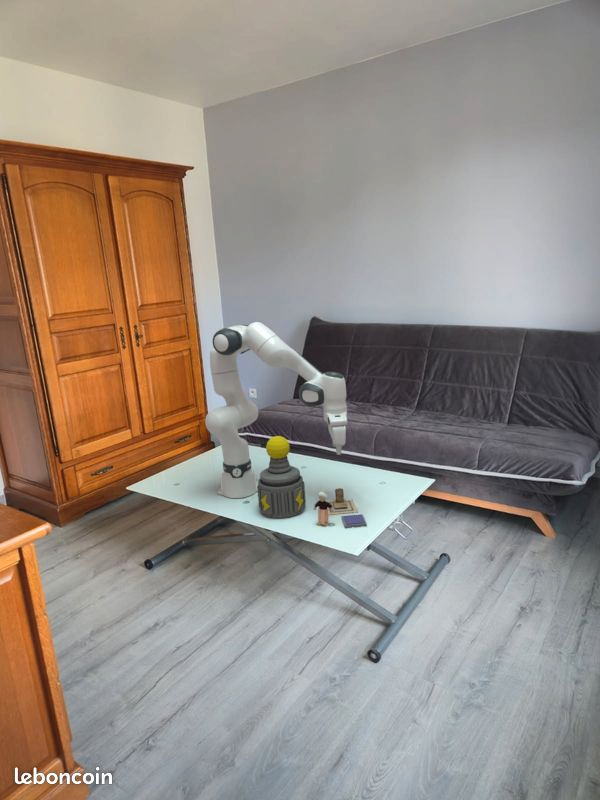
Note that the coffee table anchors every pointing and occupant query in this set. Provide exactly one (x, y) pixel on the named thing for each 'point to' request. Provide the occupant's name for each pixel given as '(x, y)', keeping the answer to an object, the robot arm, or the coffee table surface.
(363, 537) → the coffee table surface
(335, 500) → the stamp
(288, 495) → the grey toy tesla coil
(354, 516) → the ink pad
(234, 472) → the robot arm
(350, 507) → the card sheet
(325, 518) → the grandmother figurine
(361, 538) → the coffee table surface
